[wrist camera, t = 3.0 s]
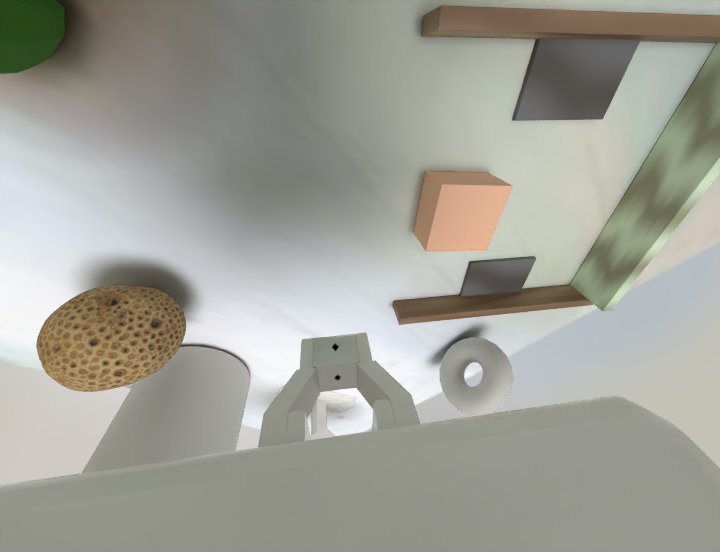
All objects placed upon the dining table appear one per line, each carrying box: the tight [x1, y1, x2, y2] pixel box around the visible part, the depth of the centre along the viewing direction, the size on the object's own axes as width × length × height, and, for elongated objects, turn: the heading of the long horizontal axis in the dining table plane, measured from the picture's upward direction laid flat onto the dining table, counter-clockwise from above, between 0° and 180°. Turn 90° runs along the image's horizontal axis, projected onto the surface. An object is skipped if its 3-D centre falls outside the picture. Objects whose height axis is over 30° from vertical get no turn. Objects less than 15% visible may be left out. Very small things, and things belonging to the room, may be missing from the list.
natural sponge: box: [36, 285, 186, 392], centre depth 23 cm, size 9×9×10 cm
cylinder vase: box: [82, 346, 250, 473], centre depth 25 cm, size 12×12×25 cm
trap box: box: [393, 6, 720, 325], centre depth 24 cm, size 26×25×5 cm
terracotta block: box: [413, 171, 512, 251], centre depth 24 cm, size 6×6×4 cm
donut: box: [440, 337, 513, 415], centre depth 35 cm, size 10×4×10 cm, turn 142°
